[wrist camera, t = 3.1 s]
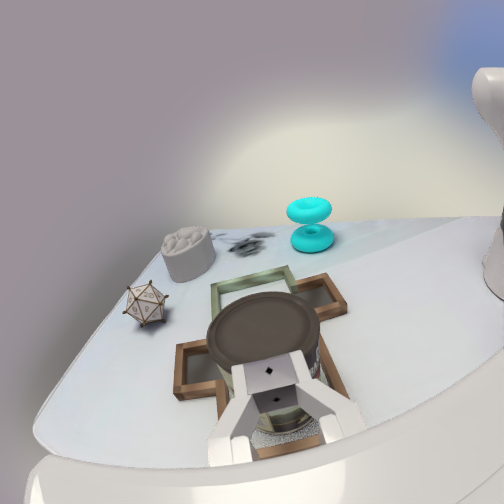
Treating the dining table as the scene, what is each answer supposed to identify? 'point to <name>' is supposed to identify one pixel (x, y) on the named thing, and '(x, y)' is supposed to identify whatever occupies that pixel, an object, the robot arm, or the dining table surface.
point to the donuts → (310, 224)
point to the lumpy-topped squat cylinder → (188, 253)
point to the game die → (145, 304)
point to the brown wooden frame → (205, 368)
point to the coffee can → (267, 344)
